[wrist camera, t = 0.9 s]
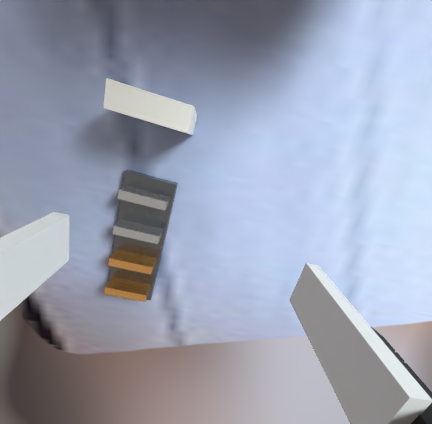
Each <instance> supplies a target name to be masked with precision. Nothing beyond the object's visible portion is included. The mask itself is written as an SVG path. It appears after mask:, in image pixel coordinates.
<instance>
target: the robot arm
mask: <svg viewBox="0 0 432 424" xmlns="http://www.w3.org/2000/svg"><path fill="white" fill-rule="evenodd" d="M68 261H69V215H66V214H61V213H57V212H52V213H50V214H48V215H46V216H44V217H42V218H40V219H38V220H36V221H34V222H32V223H30V224H27V225H25V226H23V227H21V228H19V229H17V230H15V231H13V232H11V233H9V234H7V235H5V236H3V237H0V321H1V319H3V318H4V317H5V316H6V315H7V314H9V313H10V312H11V311H12V310H13V309H14V308H15V307H16V306H18V305H19V304H20V303H21V302H22V301H23V300H24V299H26V298H27V297H28V296H29V295H30V294H31V293H32V292H34V291H35V290H36V289H37V288H38V287H39V286H40V285H42V284H43V283H44V282H45V281H46V280H47V279H48V278H49V277H51V276H52V275H53V274H54V273H55V272H56V271H57V270H59V269H60V268H61V267H62V266H63V265H64V264H65V263H67V262H68ZM290 302H291V304H292V306H293V308H294V310H295V312H296V314H297V316H298V318H299V320H300V322H301V324H302V326H303V329H304V331H305V333H306V335H307V337H308V339H309V340H310V343H311V345H312V346H313V349H314V351H315V353H316V355H317V357H318V359H319V361H320V363H321V365H322V367H323V369H324V371H325V373H326V375H327V377H328V379H329V381H330V383H331V385H332V387H333V389H334V391H335V393H336V395H337V397H338V400H339V402H340V403H341V406H342V408H343V410H344V412H345V414H346V416H347V418H348V420H349V422H350V424H432V392H431V391H430V390H429V389H428V388H427V387H426V385H425V384H424V383H423V382H422V381H421V379H419V377H418V376H417V375H416V374H415V373H414V371H413V370H412V369H411V368H410V367H409V366H408V365H407V364H406V363H404V360H403V359H402V358H401V357H400V355H399V354H398V353H396V352H395V350H394V349H393V348H392V347H391V345H390V344H389V343H388V342H387V341H386V339H385V338H384V337H383V336H381V335H380V334H379V333H378V332H377V331H376V330H374V329H373V328H372V327H370V326H369V325H368V323H367V322H366V321H365V320H364V319H363V318H362V316H361V315H360V314H359V313H358V312H357V310H356V309H355V308H354V307H353V306H352V305H351V303H350V302H349V301H348V300H347V299H346V298H345V296H344V295H343V294H342V293H341V292H340V290H339V289H338V288H337V287H336V286H335V285H334V283H333V282H332V281H331V280H330V279H329V278H328V276H327V275H326V274H325V273H324V272H323V270H322V269H321V268H320V267H319V266H318V265H313V264H308V263H306V265H305V267H304V269H303V271H302V273H301V276H300V278H299V280H298V282H297V284H296V287H295V289H294V291H293V293H292V296H291V298H290Z"/></svg>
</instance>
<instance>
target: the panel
mask: <svg viewBox="0 0 432 424" xmlns="http://www.w3.org/2000/svg"><path fill="white" fill-rule="evenodd" d="M103 108H105V109H108V110H112V111H115V112H118V113H121V114H124V115H127V116H130V117H134V118H137V119H140V120H144V121H147V122H150V123H154V124H157V125H160V126H164V127H167V128H170V129H174V130H177V131H180V132H183V133H187V134H190V135H193V132H194V128H195V124H196V120H197V113H196V110H195V107H194V106H192V105H189V104H186V103H183V102H180V101H177V100H174V99H171V98H167V97H164V96H161V95H158V94H155V93H152V92H149V91H146V90H142V89H139V88H136V87H133V86H130V85H127V84H124V83H121V82H117V81H114V80H111V79H108V78H106V86H105V96H104V105H103Z"/></svg>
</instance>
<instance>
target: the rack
mask: <svg viewBox="0 0 432 424" xmlns="http://www.w3.org/2000/svg"><path fill="white" fill-rule="evenodd" d="M177 184H178V183H174V182H171V181H167V180H163V179H159V178H156V177H152V176H148V175H145V174H141V173H137V172H133V171H130V170H125V171H124V177H123V184H122V188H121V189H119V192H118V199H120V205H119V212H118V219H117V223H116V224H115V225H114V227H113V234H115V239H114V246H113V253H112V255H111V257H110V258H109V262H108V266H110V273H109V280H108V284H107V285H106V287H105V291H104V294H107V295H112V296H117V297H123V298H128V299H133V300H138V301H143V302H145V301H146V300H151V297H152V293H153V289H154V285H155V280H156V276H157V272H158V267H159V263H160V258H161V254H162V250H163V245H164V241H165V237H166V232H167V228H168V224H169V219H170V215H171V211H172V206H173V202H174V198H175V193H176V189H177Z"/></svg>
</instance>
